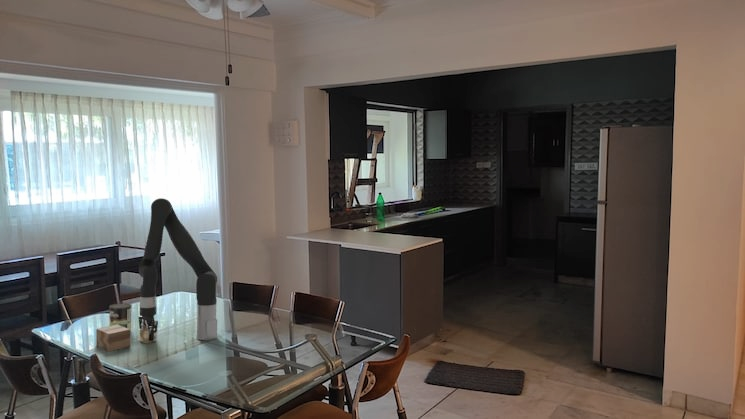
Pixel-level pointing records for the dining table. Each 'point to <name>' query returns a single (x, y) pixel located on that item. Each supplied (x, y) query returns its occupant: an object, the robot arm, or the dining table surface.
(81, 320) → the dining table surface
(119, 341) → the walnut stand
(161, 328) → the dining table surface
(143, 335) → the birch cube
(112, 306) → the coffee can
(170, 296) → the dining table surface
